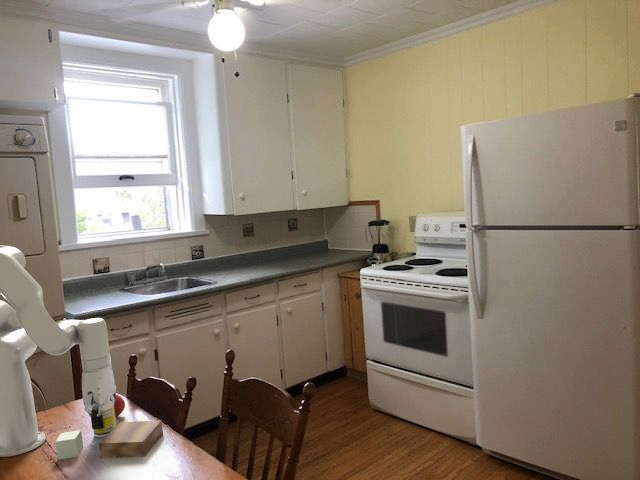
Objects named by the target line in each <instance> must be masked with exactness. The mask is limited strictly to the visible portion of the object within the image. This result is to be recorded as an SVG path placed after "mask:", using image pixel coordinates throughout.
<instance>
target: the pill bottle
mask: <svg viewBox="0 0 640 480" xmlns="http://www.w3.org/2000/svg"><path fill="white" fill-rule="evenodd" d="M94 404H97V402H94ZM94 409H95V410H96V411H97V407H94ZM101 415H102V416H103V424H104V428H103V429H93V435H94V437H96V438H104V437H106V436H107V435H108V434H109V433H110V432H111V431H112V430H113V429H114V428H115V427H116V426H117V425H118V424H117V418H116V416H115V409H114V403H113V402H112V401H110V395H109V396H107V398H106V401H105V402H104V403H103V404H101Z"/></svg>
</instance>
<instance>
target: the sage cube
mask: <svg viewBox="0 0 640 480" xmlns="http://www.w3.org/2000/svg"><path fill="white" fill-rule="evenodd" d="M54 444H55V451H56V452H55V453H56V457H57V460H63V459H64V460H65V459H69V458H71V459H72V458H76V457H79V455H80V454H81V452H82V450H83V449H84V444H83V435H82V429H79V430H73V431H72V430H71V431H65V432H61V433H60V434H59V436H58V437H57V439H56V440H55V441H54Z"/></svg>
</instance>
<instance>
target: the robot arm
mask: <svg viewBox="0 0 640 480" xmlns="http://www.w3.org/2000/svg"><path fill="white" fill-rule="evenodd" d="M26 265H27V261H26V256H25V255H24V253H23V252H22V251H21V250H20V249H18V248H16V247H14V246H10V245H2V244H1V245H0V295H1V296H2V297H3V298H4V299H5V300H6V301H7V302H6V301H4V300H1V299H0V457H3V458H5V457H15V456H18V455H23V454H25V453H28V452H30V451H33V450H34V449H36V448H38V447H39V446H41V445H43V443H45V441H46V434H45V432H43V431H39V427H38V421H37V413H36V407H35V400H34V399H35V398H34V393H33V387H32V380H31V376H30V373H29V370H28V368H27V364H26V360H28V358H30V357H31V356H32V355H34V353H35V352H36V350H37V348H38V347H39V348H40V349H41V350H42V351H43V352H45V353H46V354H48V355H50V356H61V355H63V354H65V353H67V352H68V351H69V350H71V349H72V347H74V346H75V345H79V353H80V359H81V367H82V373H81V391H82V392H81V393H82V402H83V406H84V411H85V412H86V413H87V414H88V416H89V417H90V421H91V428H92V430H94V429H103V428H104V424H103V416H102V415H101V404H103V403H104V402H105V401H106V398H107V396H109V395H110V401H112V402H113V403H115V399H114V398H115V393H116V392H117V385H116V383H115V382H116V381H115V376H114V372H113V371H114V370H113V367H112V360H111V352H110V344H109V336H108V329H107V327H108V326H107V323H106V320H105V319H104V318H101V317H95V318H93V317H92V318H87V319H85V320H84V319H66V320H65V319H64V320H61V321H59V322H56V321H55V320H54V319H53V318H52V316H51V315H50V314H49V312H48V311H47V309H46V307H45V304H44V292H43V291H44V290H43V288H42V286H41V285H40V283H39V282H38V281H36V279H35V278H34V277H32V275H31V274H30V273H29V272H28V271H27V270H26V269H25V267H26ZM94 402H97V404H94ZM94 407H97V411H96V410H95V409H94ZM114 409H115V404H114ZM115 416H116V411H115Z"/></svg>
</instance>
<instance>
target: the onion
mask: <svg viewBox="0 0 640 480" xmlns="http://www.w3.org/2000/svg"><path fill="white" fill-rule="evenodd" d="M114 399H115V403H114V404H115V411H116V419H117V418H119V417H120V415H122V413H123V412H124V410H125V408H126V403H125V400H124V398H123V397H121V396H120V395H119V394H118V395H117V393H116V392H115V398H114Z"/></svg>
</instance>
